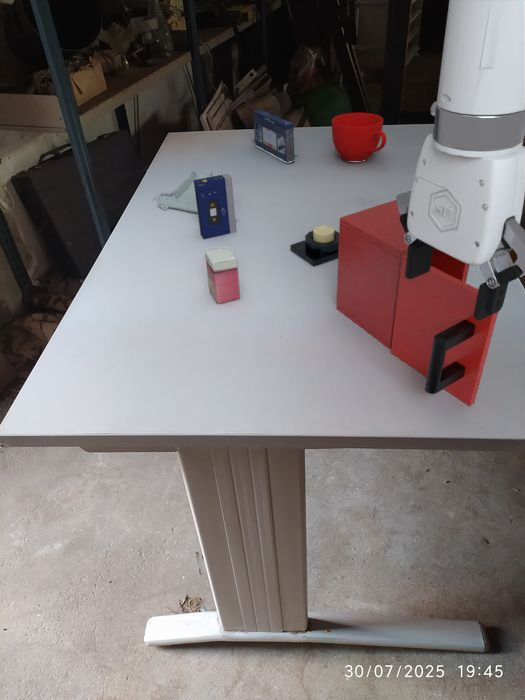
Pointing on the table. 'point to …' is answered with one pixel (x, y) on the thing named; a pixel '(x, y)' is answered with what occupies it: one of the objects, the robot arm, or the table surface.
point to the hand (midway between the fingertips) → (449, 293)
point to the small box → (222, 274)
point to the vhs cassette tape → (274, 135)
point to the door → (441, 332)
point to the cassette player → (215, 205)
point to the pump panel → (316, 249)
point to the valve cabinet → (378, 268)
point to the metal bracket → (183, 195)
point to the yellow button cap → (323, 234)
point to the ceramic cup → (357, 135)
